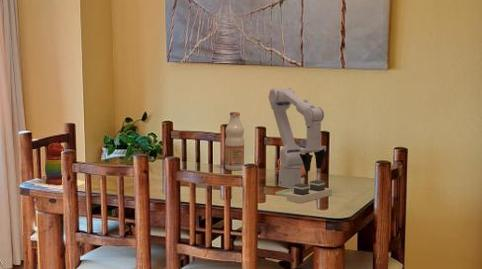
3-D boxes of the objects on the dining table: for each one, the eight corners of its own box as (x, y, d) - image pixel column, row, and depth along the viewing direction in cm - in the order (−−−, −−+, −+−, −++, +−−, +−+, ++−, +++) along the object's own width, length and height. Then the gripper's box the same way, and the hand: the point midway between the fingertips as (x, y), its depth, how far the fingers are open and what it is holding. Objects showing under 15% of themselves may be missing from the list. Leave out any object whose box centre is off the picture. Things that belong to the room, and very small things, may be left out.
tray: (275, 195, 285) (275, 192, 284) (289, 192, 291) (289, 188, 291) (292, 199, 278) (292, 195, 278) (306, 196, 285) (306, 192, 285)
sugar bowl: (306, 178, 320) (307, 156, 318) (276, 178, 320) (276, 156, 319) (304, 173, 332) (305, 152, 331) (275, 173, 332) (275, 152, 331)
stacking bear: (59, 185, 300) (58, 145, 298) (39, 183, 304) (38, 143, 301) (73, 181, 310) (72, 141, 308) (54, 179, 314) (53, 140, 311)
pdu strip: (286, 201, 274) (286, 193, 274) (317, 193, 289) (318, 186, 288) (300, 204, 270) (300, 196, 269) (331, 196, 284) (331, 189, 283)
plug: (293, 199, 276) (293, 184, 275) (300, 197, 279) (300, 183, 278) (302, 201, 273) (302, 186, 272) (308, 199, 276) (309, 184, 275)
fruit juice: (221, 169, 340) (221, 112, 336) (230, 166, 348) (231, 111, 344) (238, 171, 336) (238, 114, 332) (247, 168, 344) (247, 112, 340)
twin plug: (309, 195, 283) (310, 181, 282) (316, 194, 286) (316, 179, 285) (318, 197, 280) (318, 182, 279) (324, 195, 283) (324, 181, 282)
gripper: (310, 139, 277) (309, 173, 279) (332, 136, 287) (331, 168, 289) (296, 138, 282) (296, 170, 283) (318, 134, 292) (318, 166, 294)
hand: (313, 169), depth 286 cm, fingers open, 7 cm apart
